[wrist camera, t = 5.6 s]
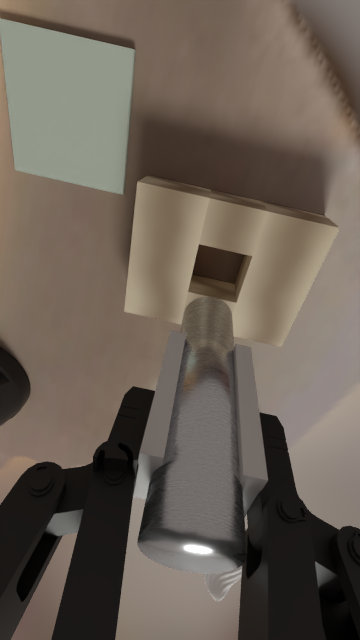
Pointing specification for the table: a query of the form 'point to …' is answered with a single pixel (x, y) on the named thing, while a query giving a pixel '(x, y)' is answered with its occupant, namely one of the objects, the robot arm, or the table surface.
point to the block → (227, 234)
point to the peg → (199, 456)
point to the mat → (68, 105)
